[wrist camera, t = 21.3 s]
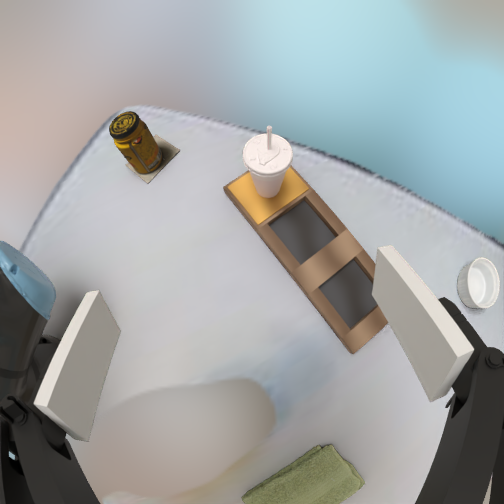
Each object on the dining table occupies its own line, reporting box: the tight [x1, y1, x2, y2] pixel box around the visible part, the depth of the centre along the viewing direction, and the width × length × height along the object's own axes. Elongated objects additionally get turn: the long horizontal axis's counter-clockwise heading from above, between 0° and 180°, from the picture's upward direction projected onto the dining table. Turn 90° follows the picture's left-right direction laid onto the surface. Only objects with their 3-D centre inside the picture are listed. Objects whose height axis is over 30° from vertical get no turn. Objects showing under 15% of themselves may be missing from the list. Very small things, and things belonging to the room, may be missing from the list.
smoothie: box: [243, 126, 293, 198], centre depth 37 cm, size 6×6×14 cm
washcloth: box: [241, 445, 365, 504], centre depth 32 cm, size 13×18×3 cm
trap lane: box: [223, 166, 388, 354], centre depth 42 cm, size 11×32×2 cm, turn 37°
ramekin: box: [457, 257, 500, 309], centre depth 38 cm, size 9×9×4 cm
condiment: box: [109, 111, 180, 183], centre depth 43 cm, size 7×8×12 cm
